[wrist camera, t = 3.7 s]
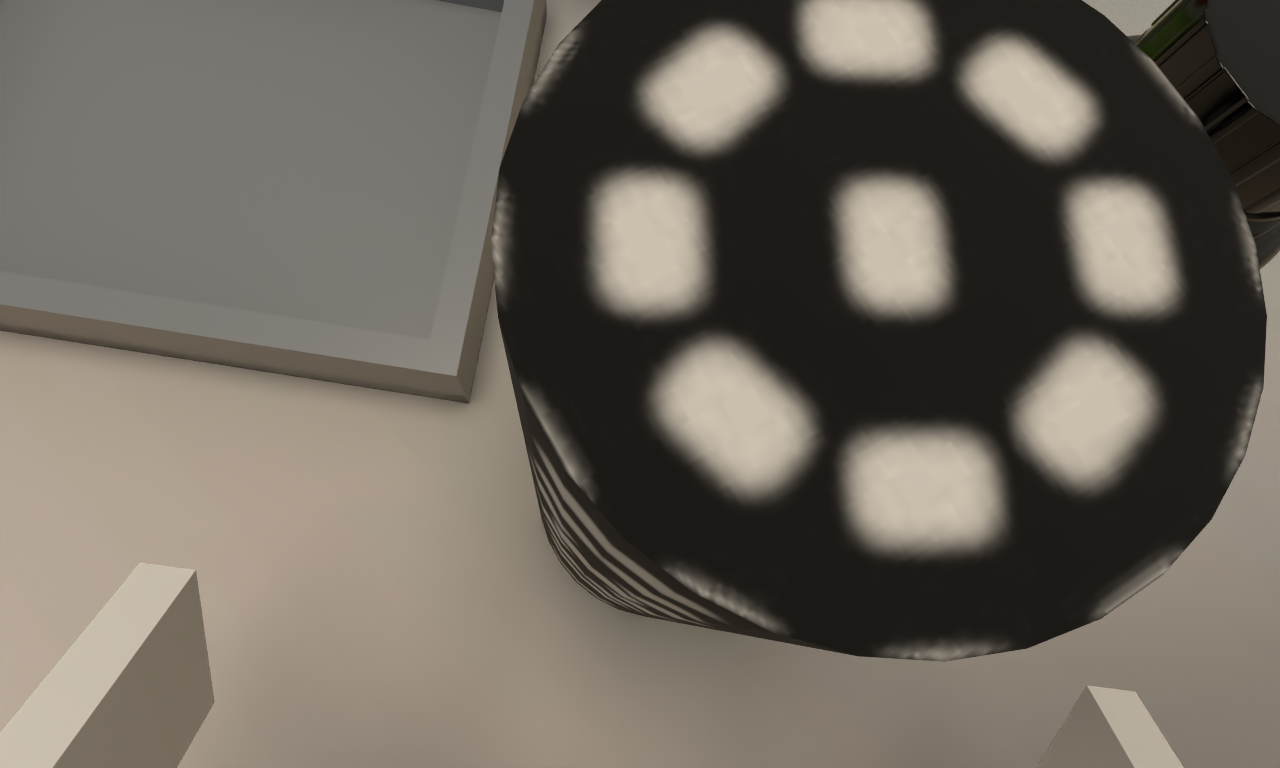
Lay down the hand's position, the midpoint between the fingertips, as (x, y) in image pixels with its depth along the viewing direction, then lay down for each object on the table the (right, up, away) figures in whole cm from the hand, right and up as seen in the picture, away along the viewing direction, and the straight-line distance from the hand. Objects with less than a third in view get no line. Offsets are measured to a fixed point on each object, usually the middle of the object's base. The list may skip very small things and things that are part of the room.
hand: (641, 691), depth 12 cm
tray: (-15, +13, +17) cm, 26 cm away
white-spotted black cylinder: (+1, +1, +16) cm, 16 cm away
